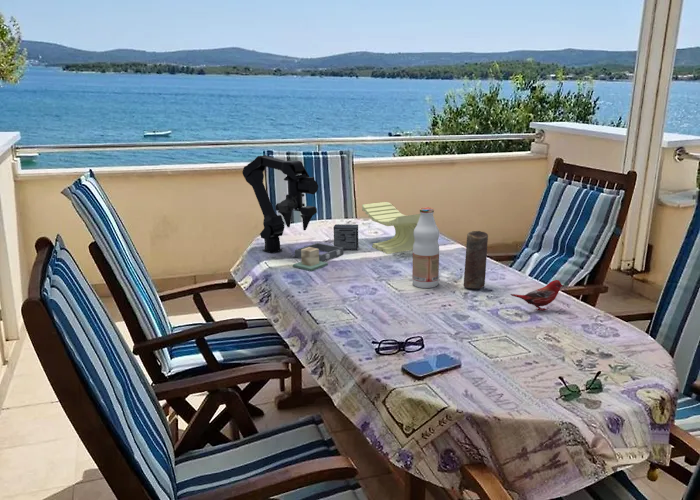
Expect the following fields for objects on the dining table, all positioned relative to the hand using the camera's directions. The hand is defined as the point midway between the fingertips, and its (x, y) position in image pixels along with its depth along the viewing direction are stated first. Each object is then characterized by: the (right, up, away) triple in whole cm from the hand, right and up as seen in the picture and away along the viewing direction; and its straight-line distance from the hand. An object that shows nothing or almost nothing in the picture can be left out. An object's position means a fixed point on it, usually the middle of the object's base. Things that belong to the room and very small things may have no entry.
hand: (296, 228), depth 255 cm
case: (+9, -11, +4) cm, 15 cm away
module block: (+6, -14, -11) cm, 19 cm away
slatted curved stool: (+42, -8, +14) cm, 45 cm away
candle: (+67, -23, -39) cm, 80 cm away
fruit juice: (+50, -22, -34) cm, 64 cm away
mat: (+6, -15, -11) cm, 20 cm away
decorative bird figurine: (+81, -29, -61) cm, 106 cm away
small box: (+21, -8, +15) cm, 27 cm away
